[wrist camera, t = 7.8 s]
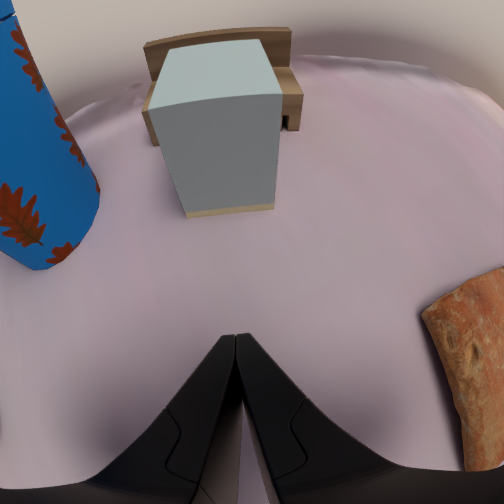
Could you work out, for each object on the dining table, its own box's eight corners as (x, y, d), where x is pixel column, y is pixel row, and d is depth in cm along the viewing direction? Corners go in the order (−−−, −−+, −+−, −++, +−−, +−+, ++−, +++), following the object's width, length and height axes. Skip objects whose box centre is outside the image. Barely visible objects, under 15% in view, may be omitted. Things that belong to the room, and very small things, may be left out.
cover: (273, 209, 19) (282, 93, 10) (187, 219, 19) (147, 109, 10) (252, 105, 24) (251, 22, 16) (192, 112, 24) (177, 30, 16)
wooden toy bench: (298, 130, 22) (308, 52, 15) (153, 146, 22) (128, 72, 15) (283, 92, 25) (287, 27, 18) (163, 105, 25) (146, 42, 18)
